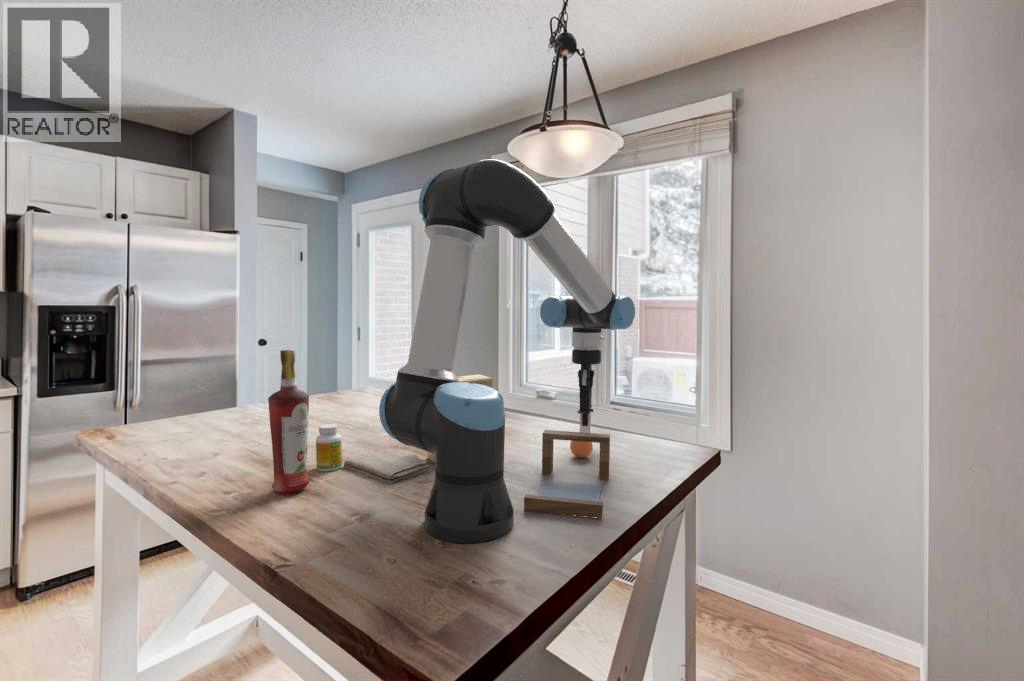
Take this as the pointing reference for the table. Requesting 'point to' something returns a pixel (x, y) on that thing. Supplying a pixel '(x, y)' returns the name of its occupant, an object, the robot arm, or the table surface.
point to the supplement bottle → (328, 448)
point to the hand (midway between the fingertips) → (585, 436)
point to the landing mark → (570, 490)
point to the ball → (581, 448)
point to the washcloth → (388, 465)
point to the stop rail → (563, 506)
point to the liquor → (289, 430)
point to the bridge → (575, 436)
